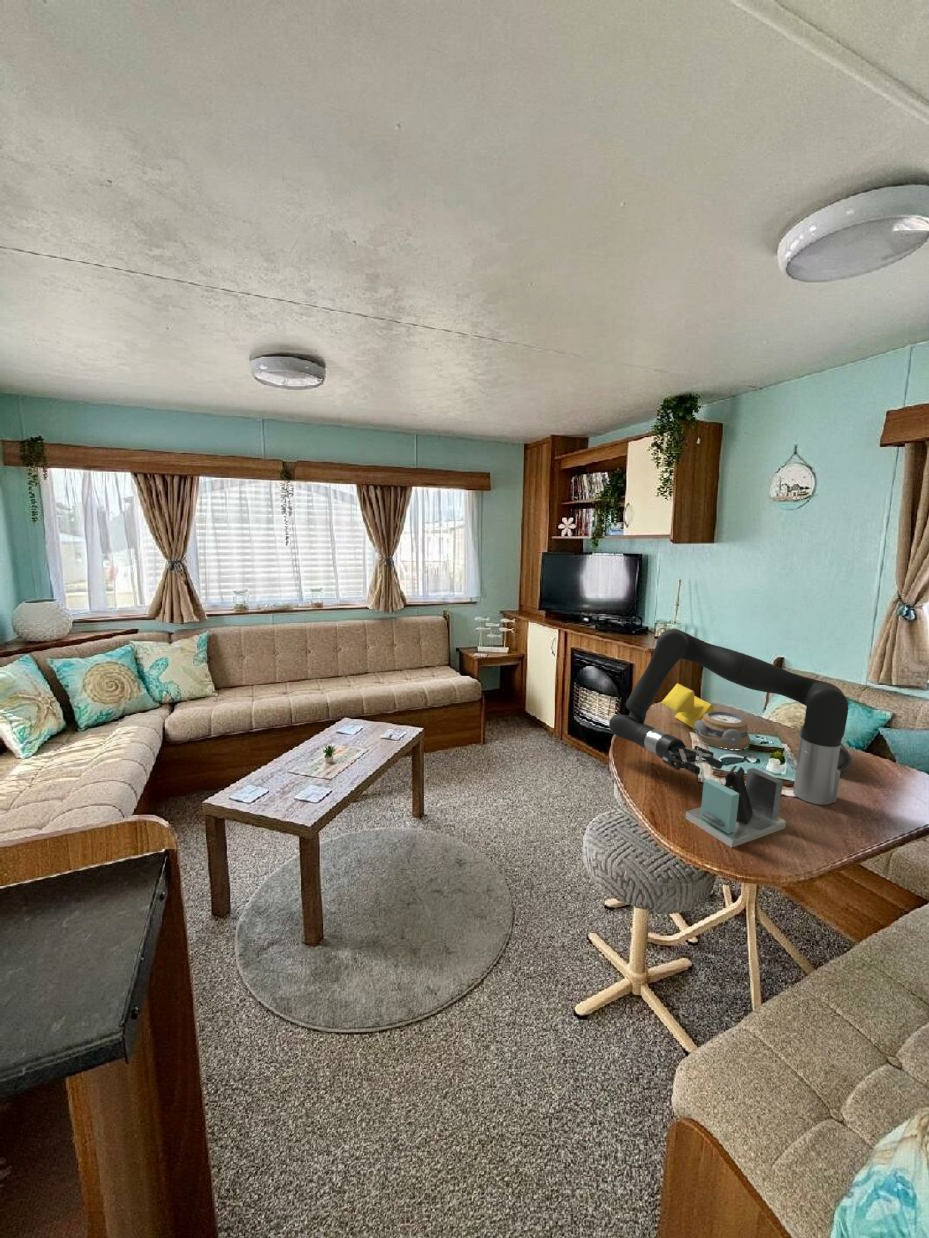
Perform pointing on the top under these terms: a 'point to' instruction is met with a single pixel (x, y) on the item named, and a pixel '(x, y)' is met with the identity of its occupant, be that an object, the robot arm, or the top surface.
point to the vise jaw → (719, 805)
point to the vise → (764, 806)
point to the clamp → (687, 705)
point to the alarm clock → (723, 730)
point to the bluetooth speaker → (841, 757)
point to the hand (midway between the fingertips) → (710, 768)
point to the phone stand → (740, 794)
